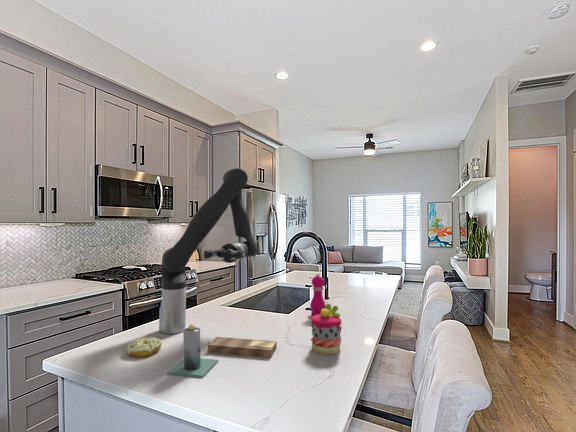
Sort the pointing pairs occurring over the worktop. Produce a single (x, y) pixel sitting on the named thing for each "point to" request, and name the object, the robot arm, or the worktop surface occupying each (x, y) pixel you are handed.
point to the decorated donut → (144, 347)
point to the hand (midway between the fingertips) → (216, 256)
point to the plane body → (242, 347)
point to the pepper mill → (317, 295)
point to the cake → (326, 331)
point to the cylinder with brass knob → (191, 348)
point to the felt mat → (200, 372)
